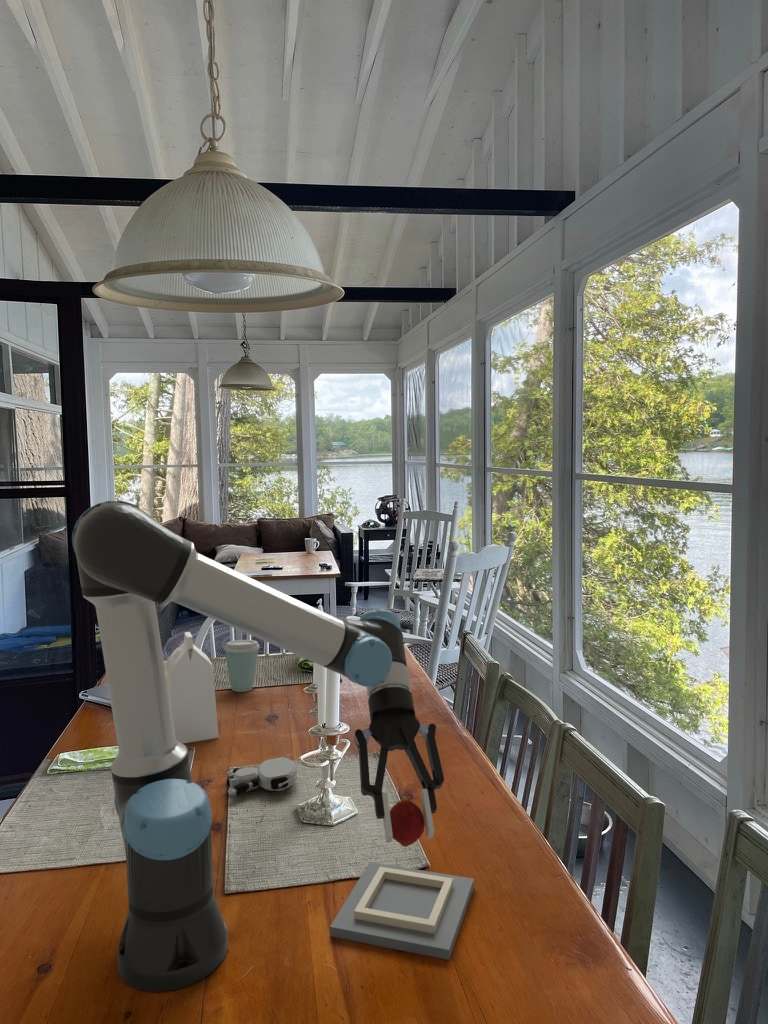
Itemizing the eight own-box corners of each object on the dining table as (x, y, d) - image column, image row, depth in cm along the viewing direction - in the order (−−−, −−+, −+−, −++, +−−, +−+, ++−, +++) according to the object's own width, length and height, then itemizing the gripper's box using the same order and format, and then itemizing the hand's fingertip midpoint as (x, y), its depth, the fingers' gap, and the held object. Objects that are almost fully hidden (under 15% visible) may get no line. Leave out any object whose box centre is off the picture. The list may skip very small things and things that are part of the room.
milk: (218, 737, 187) (214, 637, 185) (171, 745, 182) (167, 642, 180) (211, 722, 198) (207, 627, 196) (167, 728, 193) (163, 631, 191)
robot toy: (228, 808, 150) (301, 794, 154) (226, 787, 150) (299, 773, 154) (226, 783, 162) (294, 770, 166) (224, 763, 162) (292, 751, 165)
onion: (423, 835, 116) (422, 786, 116) (426, 855, 111) (425, 804, 110) (386, 836, 116) (385, 788, 116) (388, 856, 110) (387, 805, 110)
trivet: (449, 960, 103) (448, 941, 102) (330, 936, 108) (329, 918, 108) (473, 887, 120) (473, 871, 120) (369, 870, 125) (369, 855, 125)
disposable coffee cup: (224, 685, 229) (222, 638, 228) (258, 681, 232) (257, 635, 231) (227, 696, 219) (225, 646, 218) (263, 692, 222) (261, 643, 221)
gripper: (439, 701, 129) (466, 839, 114) (334, 709, 126) (346, 851, 111) (446, 680, 123) (475, 823, 108) (335, 688, 120) (349, 836, 105)
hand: (410, 837), depth 110 cm, fingers closed on onion, 6 cm apart
